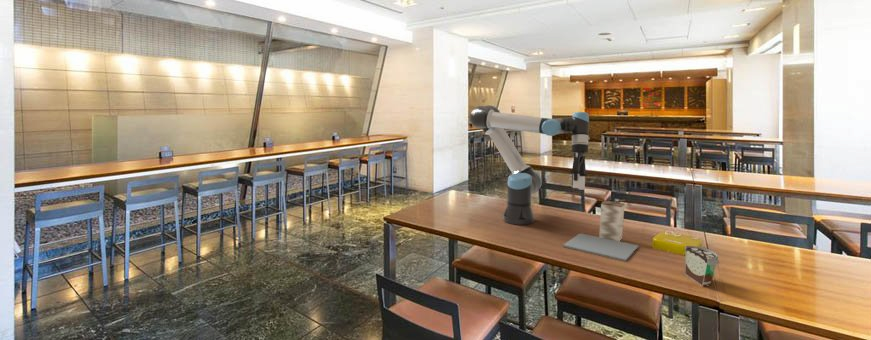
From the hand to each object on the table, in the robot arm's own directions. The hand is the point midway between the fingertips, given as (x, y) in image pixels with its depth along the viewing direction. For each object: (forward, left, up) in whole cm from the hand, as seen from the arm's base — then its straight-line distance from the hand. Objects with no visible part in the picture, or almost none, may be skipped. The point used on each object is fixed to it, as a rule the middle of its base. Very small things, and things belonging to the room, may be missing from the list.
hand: (578, 188), depth 185 cm
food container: (+54, -32, -18) cm, 66 cm away
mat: (+18, -22, -18) cm, 34 cm away
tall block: (+18, -9, -18) cm, 27 cm away
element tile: (+42, -3, -19) cm, 46 cm away
